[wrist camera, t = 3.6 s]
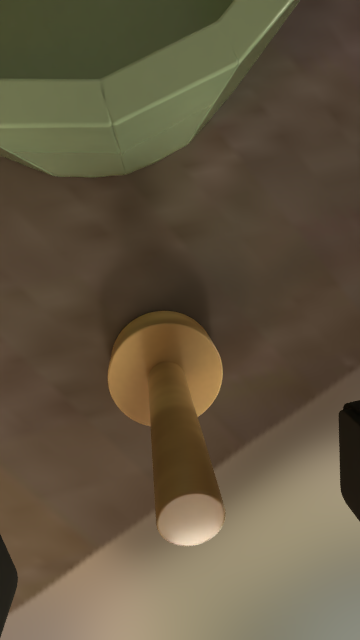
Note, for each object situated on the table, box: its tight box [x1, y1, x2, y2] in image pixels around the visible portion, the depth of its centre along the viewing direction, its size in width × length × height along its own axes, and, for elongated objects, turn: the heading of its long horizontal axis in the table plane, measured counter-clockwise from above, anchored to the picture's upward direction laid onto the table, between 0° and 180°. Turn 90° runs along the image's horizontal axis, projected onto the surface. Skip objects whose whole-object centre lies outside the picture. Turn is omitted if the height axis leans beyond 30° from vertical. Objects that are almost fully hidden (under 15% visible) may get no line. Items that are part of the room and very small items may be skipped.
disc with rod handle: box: [108, 311, 226, 546], centre depth 12 cm, size 5×5×9 cm
